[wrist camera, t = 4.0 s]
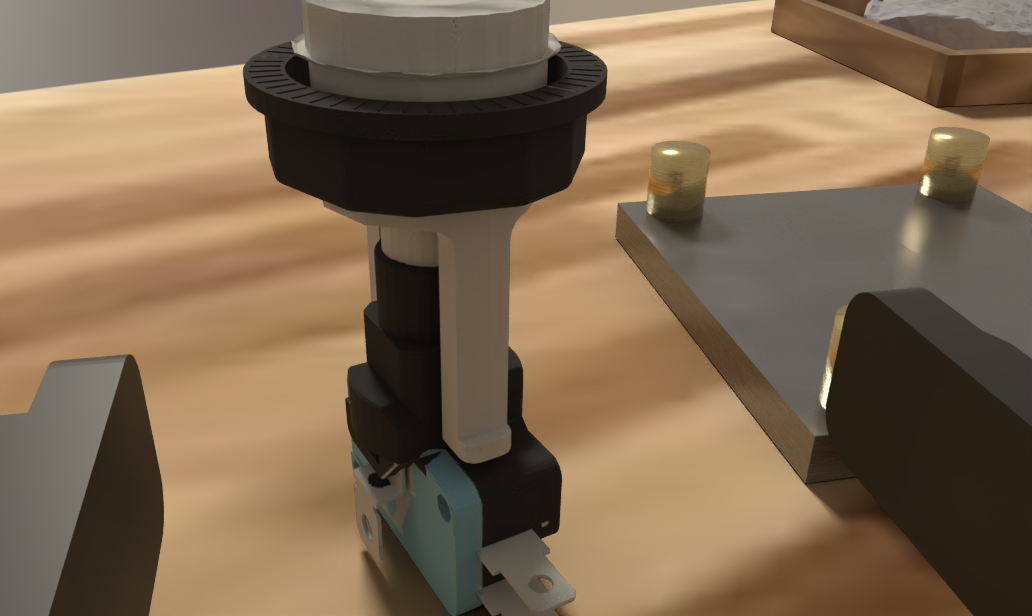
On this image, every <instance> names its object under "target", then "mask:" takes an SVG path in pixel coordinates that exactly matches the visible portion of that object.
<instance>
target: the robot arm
mask: <svg viewBox="0 0 1032 616" xmlns="http://www.w3.org/2000/svg"><path fill="white" fill-rule="evenodd" d="M825 416H826V426H827V431H828V435H829V438H830V441H831V443H832V445H833V448H834V449H835V451H836V453H837V454H838V456H839V457H840V458H841V459H842V461H843V462H844V463H845V464H846V465H847V466H848V468H849V469H850V470H851V471H852V472H853V474H854V475H855V476H856V477H857V478H858V479H859V481H860V482H861V483H862V484H863V485H864V487H865V488H866V489H867V490H868V491H869V492H870V494H871V495H872V496H873V497H874V498H875V500H876V501H877V502H878V503H879V504H880V505H881V507H882V508H883V509H884V510H885V511H886V513H887V514H888V515H889V516H890V517H891V518H892V520H893V521H894V522H895V523H896V524H897V526H898V527H899V528H900V529H901V530H902V531H903V533H904V534H905V535H906V536H907V537H908V539H909V540H910V541H911V542H912V543H913V544H914V546H915V547H916V548H917V549H918V550H919V552H920V553H921V554H922V555H923V556H924V557H925V559H926V560H927V561H928V562H929V563H930V565H931V566H932V567H933V568H934V569H935V570H936V572H937V573H938V574H939V575H940V576H941V578H942V579H943V580H944V581H945V582H946V583H947V585H948V586H949V587H950V588H951V589H952V591H953V592H954V593H955V594H956V595H957V596H958V598H959V599H960V600H961V601H962V602H963V604H964V605H965V606H966V607H967V608H968V609H969V611H970V612H971V613H972V614H973V615H974V616H1032V358H1030V357H1029V356H1027V355H1026V354H1025V353H1023V352H1022V351H1021V350H1019V349H1018V348H1017V347H1015V346H1014V345H1013V344H1011V343H1009V342H1006V341H1004V340H1002V339H1000V338H998V337H995V336H993V335H991V334H989V333H987V332H984V331H982V330H981V329H979V328H978V327H977V326H975V325H974V324H973V323H971V322H970V321H969V320H967V319H966V318H965V317H963V316H962V315H961V314H960V313H958V312H957V311H956V310H954V309H953V308H952V307H950V306H949V305H948V304H946V303H945V302H944V301H942V300H941V299H940V298H938V297H937V296H936V295H934V294H933V293H932V292H930V291H929V290H927V289H924V288H906V289H895V290H883V291H872V292H862V293H859V294H857V295H855V296H854V297H853V298H852V300H851V301H850V303H849V304H848V307H847V309H846V313H845V316H844V321H843V326H842V331H841V335H840V340H839V345H838V349H837V354H836V359H835V363H834V368H833V373H832V378H831V382H830V387H829V392H828V396H827V401H826V411H825ZM163 526H164V501H163V489H162V481H161V475H160V470H159V465H158V460H157V455H156V450H155V445H154V440H153V435H152V430H151V425H150V420H149V415H148V411H147V406H146V401H145V396H144V391H143V386H142V381H141V376H140V372H139V369H138V365H137V363H136V360H135V359H134V357H133V356H132V355H130V354H128V355H117V356H105V357H94V358H82V359H71V360H59V361H53V362H51V363H50V364H49V366H48V368H47V370H46V372H45V374H44V377H43V379H42V381H41V384H40V386H39V388H38V391H37V393H36V395H35V397H34V400H33V402H32V404H31V407H30V409H29V411H28V413H20V414H10V415H0V616H149V611H150V605H151V600H152V594H153V588H154V583H155V577H156V571H157V566H158V560H159V554H160V548H161V543H162V536H163Z"/></svg>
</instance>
